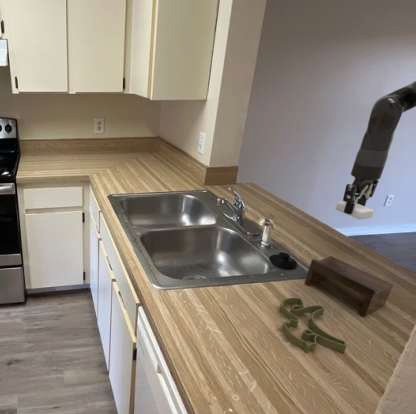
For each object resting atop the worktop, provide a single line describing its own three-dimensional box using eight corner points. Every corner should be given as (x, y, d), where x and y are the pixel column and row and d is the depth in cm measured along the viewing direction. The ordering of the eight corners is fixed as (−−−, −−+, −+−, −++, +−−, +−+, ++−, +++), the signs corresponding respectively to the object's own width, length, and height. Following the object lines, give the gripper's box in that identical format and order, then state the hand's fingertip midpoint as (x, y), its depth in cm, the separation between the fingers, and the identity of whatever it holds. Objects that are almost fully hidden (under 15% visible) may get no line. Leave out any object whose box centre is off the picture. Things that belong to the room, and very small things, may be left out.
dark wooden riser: (324, 275, 103) (332, 251, 100) (384, 305, 90) (395, 279, 87) (304, 284, 99) (311, 259, 96) (364, 317, 86) (375, 290, 82)
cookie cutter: (349, 359, 74) (352, 352, 73) (291, 350, 76) (293, 344, 75) (318, 306, 90) (320, 300, 89) (270, 300, 92) (271, 294, 91)
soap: (372, 218, 107) (375, 209, 106) (359, 220, 106) (362, 211, 105) (346, 207, 115) (349, 199, 114) (334, 209, 114) (336, 201, 113)
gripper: (370, 168, 97) (353, 220, 104) (396, 162, 103) (378, 211, 110) (343, 162, 104) (328, 211, 110) (369, 157, 109) (353, 203, 116)
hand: (353, 211), depth 110 cm, fingers closed on soap, 6 cm apart
